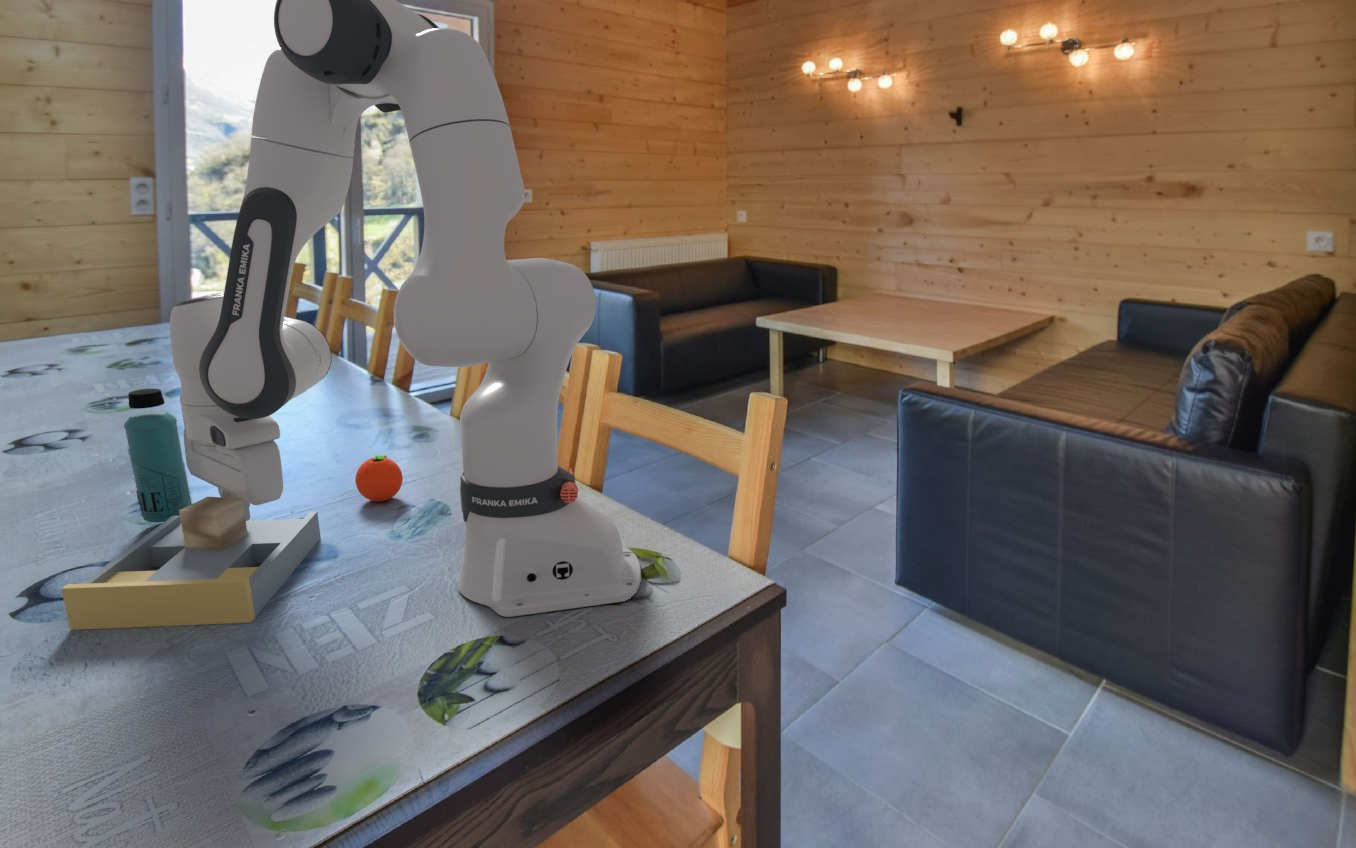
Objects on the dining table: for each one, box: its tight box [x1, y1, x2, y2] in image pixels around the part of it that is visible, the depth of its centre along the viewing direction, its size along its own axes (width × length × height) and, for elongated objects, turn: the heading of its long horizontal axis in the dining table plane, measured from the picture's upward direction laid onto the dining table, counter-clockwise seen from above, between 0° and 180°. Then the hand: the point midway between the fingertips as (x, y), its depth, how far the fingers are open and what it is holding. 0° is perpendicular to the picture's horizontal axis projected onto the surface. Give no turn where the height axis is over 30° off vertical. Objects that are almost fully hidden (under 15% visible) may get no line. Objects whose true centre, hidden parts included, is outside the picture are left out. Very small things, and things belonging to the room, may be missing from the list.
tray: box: [61, 511, 322, 631], centre depth 99 cm, size 23×19×5 cm
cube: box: [179, 496, 248, 550], centre depth 102 cm, size 5×5×5 cm
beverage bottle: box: [123, 388, 193, 523], centre depth 113 cm, size 6×7×20 cm
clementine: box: [354, 455, 403, 502], centre depth 125 cm, size 8×7×7 cm
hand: (239, 519), depth 107 cm, fingers closed
